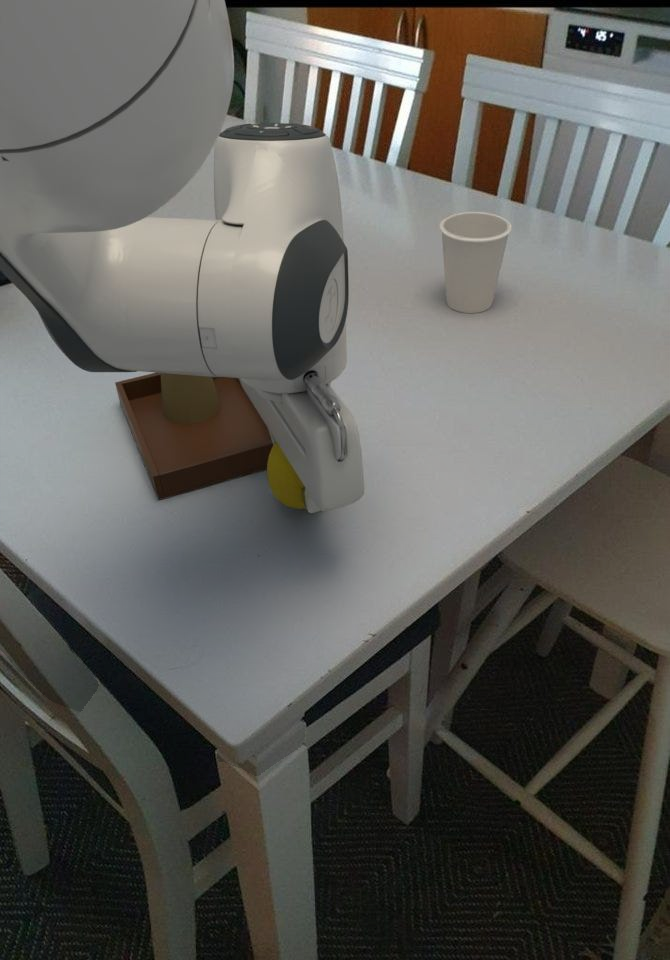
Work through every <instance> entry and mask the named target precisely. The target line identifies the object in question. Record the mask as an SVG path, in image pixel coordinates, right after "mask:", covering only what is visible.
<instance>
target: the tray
mask: <svg viewBox="0 0 670 960" xmlns="http://www.w3.org/2000/svg"><path fill="white" fill-rule="evenodd" d="M212 378H213V381H214V384H215V387H216V390H217V394H218V397H219V400H220V404H221V405H220V409H219V411H218V412H217V413H216V414H215V415H214V416H212V417H211V418H209V419H207V420H205V421H202V422H198V423H193V424H180V423H175V422H172V421H170V420H168V419H167V418H166V417H165V416H164V415H163V410H162V390H161V373H156V372H151V373H149V374H144V375H141V376H136V377H133V378H128V379H127V378H126V379H124V380H123V379H122V380H119V381H115V382H114V385H115V389H116V392H117V397H118V400H119V405H120V406H121V410H122V412H123V415H124V417H125V420H126V423H127V425H128V427H129V430H130V433H131V435H132V438H133V440H134V443H135V445H136V448H137V450H138V453H139V455H140V458H141V460H142V463H143V465H144V468H145V470H146V473H147V475H148V478H149V479H150V483H151V485H152V488H153V491H154V493H155V496H156V498H157V501H161V500H164V499H168V498H170V497H173V496H178V495H181V494H185V493H188V492H191V491H195V490H199V489H202V488H205V487H209V486H212V485H216V484H218V483H223V482H226V481H230V480H233V479H237V478H240V477H244V476H247V475H251V474H255V473H257V472H261V471H265V470H267V463H268V458H269V454H270V452H271V449H272V447H273V443H272V440H271V436H270V433H269V430H268V427H267V426H266V424H265V423H264V421H263V419H262V418H261V416H260V415H259V413H258V411H257V410H256V408H255V407H254V405H253V404H252V402H251V400H250V399H249V397H248V396H247V394H246V393H245V391H244V389H243V387H242V385H241V383H240V380H239V378H230V377H212Z"/></svg>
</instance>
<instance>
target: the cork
mask: <svg viewBox="0 0 670 960" xmlns="http://www.w3.org/2000/svg"><path fill="white" fill-rule="evenodd" d="M161 390H162V410H163V415H164V416H165V417H166V418H167V419H168V420H170V421H172V422H175V423H180V424H193V423H198V422H202V421H205V420H207V419H209V418H211V417H212V416H214V415H215V414H216V413H217V412H218V411H219V409H220V405H221V404H220V400H219V397H218V394H217V390H216V387H215V384H214V381H213V378H212V377H207V376H195V375H182V374H169V373H161Z"/></svg>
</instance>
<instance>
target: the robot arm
mask: <svg viewBox="0 0 670 960" xmlns="http://www.w3.org/2000/svg"><path fill="white" fill-rule="evenodd" d="M234 79H235V57H234V46H233V37H232V32H231V26H230V18H229V14H228V10H227V5H226V0H0V272H1V273H2V274H3V275H4V277H6V278H7V279H8V280H9V281H10V282H11V283H12V284H13V285H14V286H15V287H16V288H17V289H18V290H19V291H20V292H21V293H22V295H24V296H25V297H26V299H27V300H28V301H29V303H31V305H32V306H33V307H34V308H35V310H36V311H37V313H38V315H39V317H40V320H41V321H42V323H43V326H44V328H45V329H46V331H47V334H49V336H50V338H51V339H52V341H53V342H54V344H55V345H56V346H57V348H58V349H59V350H60V351H61V352H62V353H63V354H64V356H65V357H66V358H67V359H68V360H69V361H70V362H71V363H72V364H74V365H75V366H76V367H78V368H79V369H81V370H83V371H85V372H88V373H136V372H143V373H169V374H182V375H195V376H207V377H230V378H239V380H240V383H241V385H242V387H243V389H244V391H245V393H246V394H247V396H248V397H249V399H250V400H251V402H252V404H253V405H254V407H255V408H256V410H257V411H258V413H259V415H260V416H261V418H262V419H263V421H264V423H265V424H266V426H267V427H268V430H269V433H270V436H271V440H272V443H273V446H274V444H275V443H276V442H277V443H278V445H279V446H280V448H281V450H282V451H283V453H284V454H285V456H286V458H287V459H288V461H289V462H290V464H291V466H292V467H293V469H294V470H295V472H296V474H297V475H298V477H299V478H300V480H301V482H302V483H303V485H304V486H305V487H304V488H301V494H302V501H303V503H304V505H305V507H306V508H305V509H306V510H307V511H308V513H310V514H314V513H317V512H321V511H322V512H329V511H332V510H336V509H340V508H343V507H346V506H349V505H352V504H354V503H356V502H358V501H360V500H361V499H362V498H363V496H364V493H365V476H364V463H363V454H362V453H363V452H362V445H361V437H360V433H359V429H358V425H357V421H356V419H355V417H354V415H353V414H352V412H351V411H350V409H349V408H348V406H347V405H346V404H345V402H344V401H343V400H342V399H341V398H340V396H339V395H338V394H337V392H336V391H335V389H334V388H333V387H332V386H331V385H332V382H333V381H335V380H337V378H338V377H339V376H341V374H342V373H343V372H344V370H345V369H346V366H347V363H348V346H347V344H348V343H347V316H348V310H349V300H350V299H349V296H350V295H349V293H350V291H349V290H350V289H349V288H350V286H349V252H348V247H347V246H346V244H345V241H344V223H343V222H344V221H343V210H342V201H341V192H340V183H339V179H338V178H339V177H338V171H337V166H336V160H335V155H334V150H333V147H332V142H331V140H330V137H329V135H327V134H326V133H325V132H324V131H321V130H319V128H317V127H314V126H312V125H309V124H308V125H307V124H300V123H290V122H289V123H287V122H286V123H285V122H279V123H278V122H260V123H244V124H236V125H233V126H231V127H228V128H225V129H224V130H223V131H222V128H223V127H224V123H225V121H226V118H227V114H228V111H229V108H230V104H231V100H232V94H233V90H234V89H233V88H234ZM212 151H213V201H214V216H215V219H209V218H189V217H188V218H187V217H186V218H184V217H166V216H165V217H164V216H151V215H153V214H154V213H156V212H158V210H160V209H162V207H164V206H165V205H167V204H168V203H169V202H171V201H172V200H173V199H175V198H176V196H177V195H178V194H180V192H182V191H183V190H184V188H185V187H186V186H187V185H188V184H189V183H190V182H191V181H192V180H193V178H194V177H195V176H196V174H197V173H198V172H199V171H200V170H201V168H202V167H203V166H204V164H205V163H206V161H207V159H208V158H209V156H210V154H211V152H212Z"/></svg>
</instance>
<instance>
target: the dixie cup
mask: <svg viewBox="0 0 670 960" xmlns="http://www.w3.org/2000/svg"><path fill="white" fill-rule="evenodd" d="M512 228H513V227H512V224H511V223H510V221H508V219H506V218H504V217H502V216H500V215H498V214H495V213H491V212H484V211H463V212H458V213H457V212H456V213H454V214H450V215H449V216H446V217H445V218H444V219H442V220H441V221H440V223H439V231H440V232H441V242H442V255H443V269H444V271H443V272H444V285H445V286H444V287H445V297H446V298H445V299H446V300H445V301H446V305H447V306H448V307H449V308H450V309H452V310H453V311H456V312H459V313H463V314H478V313H483V312H485V311H487V310H489V309H490V308H491V307H493V303H494V299H495V294H496V290H497V286H498V285H497V284H498V282H499V277H500V273H501V269H502V266H503V265H502V264H503V259H504V256H505V251H506V248H507V243H508V239H509V235H510V234H511V232H512Z"/></svg>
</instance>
